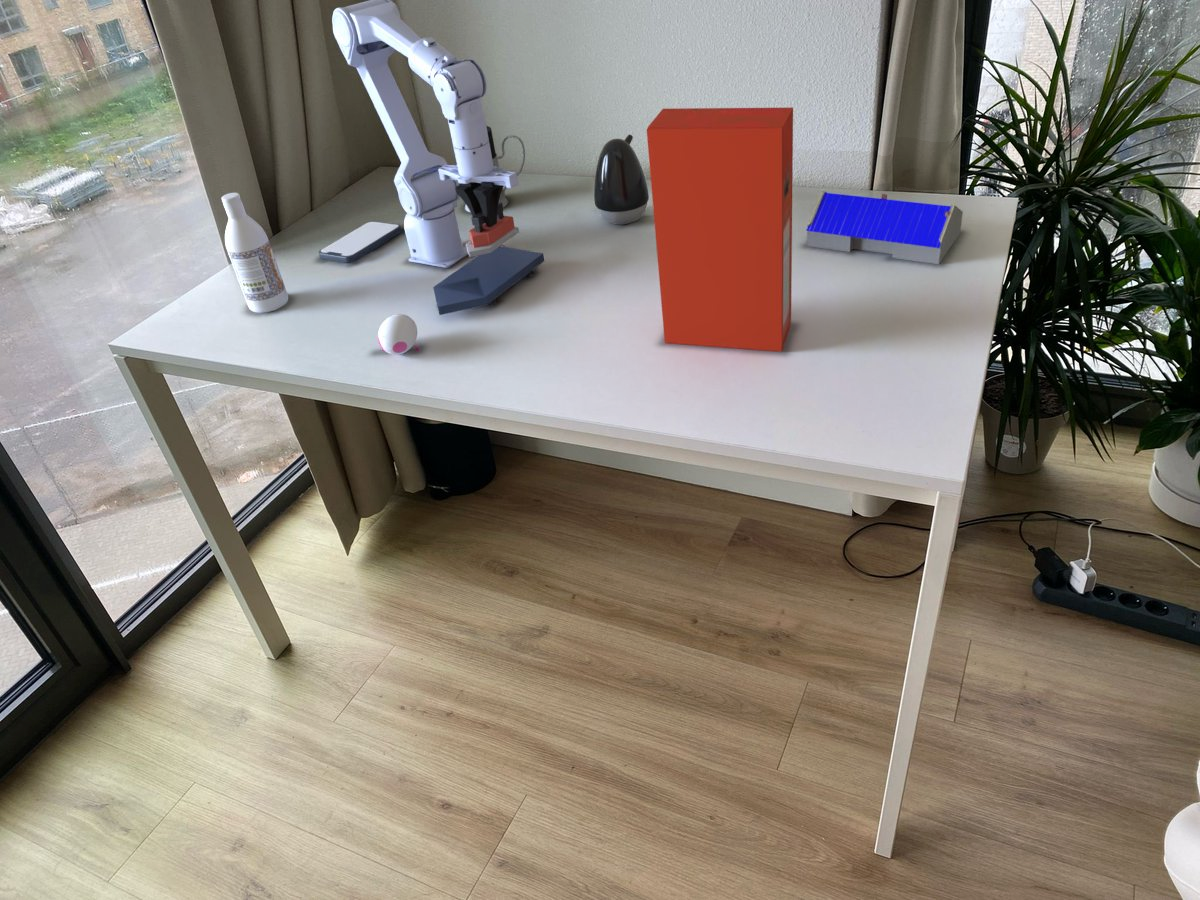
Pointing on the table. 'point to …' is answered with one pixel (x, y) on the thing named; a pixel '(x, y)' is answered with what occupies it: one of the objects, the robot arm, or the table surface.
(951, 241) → the blue roofed model house
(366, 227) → the smartphone with white screen
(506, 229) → the iron
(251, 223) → the bath foam
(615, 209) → the black egg-shaped figure
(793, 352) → the table surface
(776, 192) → the file binder
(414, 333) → the stress ball
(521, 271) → the ironing board
